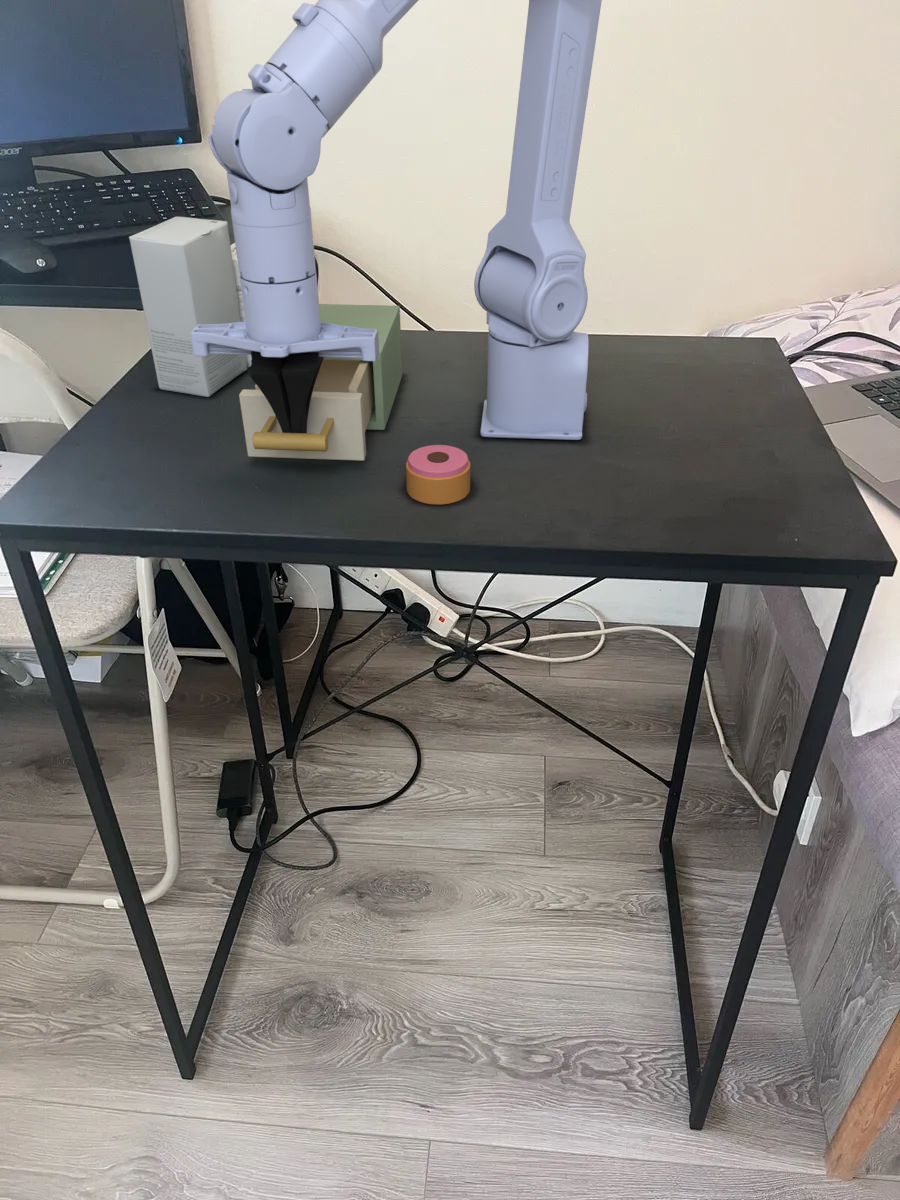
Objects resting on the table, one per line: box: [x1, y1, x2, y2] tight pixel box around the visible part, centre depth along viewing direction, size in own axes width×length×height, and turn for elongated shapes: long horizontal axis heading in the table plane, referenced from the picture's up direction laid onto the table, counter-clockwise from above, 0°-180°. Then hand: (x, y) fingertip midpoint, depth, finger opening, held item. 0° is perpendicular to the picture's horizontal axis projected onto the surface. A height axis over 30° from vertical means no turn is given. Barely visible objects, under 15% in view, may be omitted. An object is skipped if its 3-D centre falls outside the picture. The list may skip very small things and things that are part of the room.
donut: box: [405, 444, 471, 506], centre depth 76 cm, size 5×5×3 cm
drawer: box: [238, 360, 375, 461], centre depth 81 cm, size 17×10×6 cm, turn 175°
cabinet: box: [319, 303, 403, 431], centre depth 90 cm, size 14×12×8 cm
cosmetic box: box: [128, 216, 248, 398], centre depth 92 cm, size 8×7×16 cm
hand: (296, 438), depth 76 cm, fingers closed, pressing on drawer
